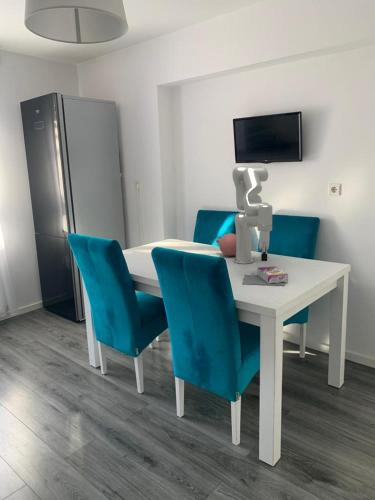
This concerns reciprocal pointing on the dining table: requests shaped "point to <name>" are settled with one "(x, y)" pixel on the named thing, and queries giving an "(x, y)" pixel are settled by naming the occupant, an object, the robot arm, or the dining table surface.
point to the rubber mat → (258, 281)
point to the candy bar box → (272, 275)
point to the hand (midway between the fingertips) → (264, 260)
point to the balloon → (227, 244)
